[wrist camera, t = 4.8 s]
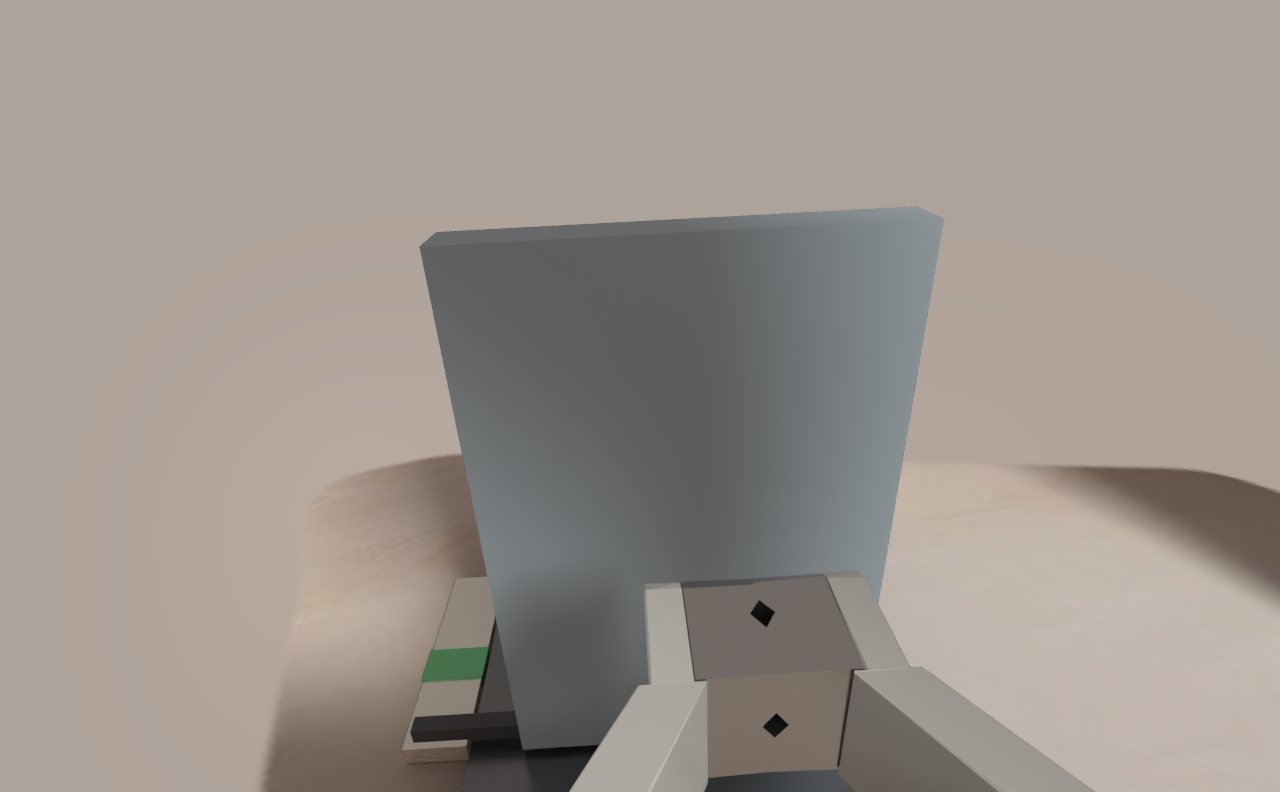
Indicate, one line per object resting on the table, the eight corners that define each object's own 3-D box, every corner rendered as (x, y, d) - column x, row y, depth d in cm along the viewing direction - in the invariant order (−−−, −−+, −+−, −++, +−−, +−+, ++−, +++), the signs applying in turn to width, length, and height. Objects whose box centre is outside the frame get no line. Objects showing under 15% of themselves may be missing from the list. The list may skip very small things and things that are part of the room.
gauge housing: (808, 524, 35) (816, 431, 32) (971, 901, 19) (1015, 780, 16) (472, 544, 35) (452, 452, 32) (349, 942, 19) (290, 826, 16)
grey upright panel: (843, 692, 24) (916, 206, 16) (856, 728, 23) (944, 218, 14) (422, 718, 24) (274, 240, 16) (410, 756, 22) (242, 256, 14)
